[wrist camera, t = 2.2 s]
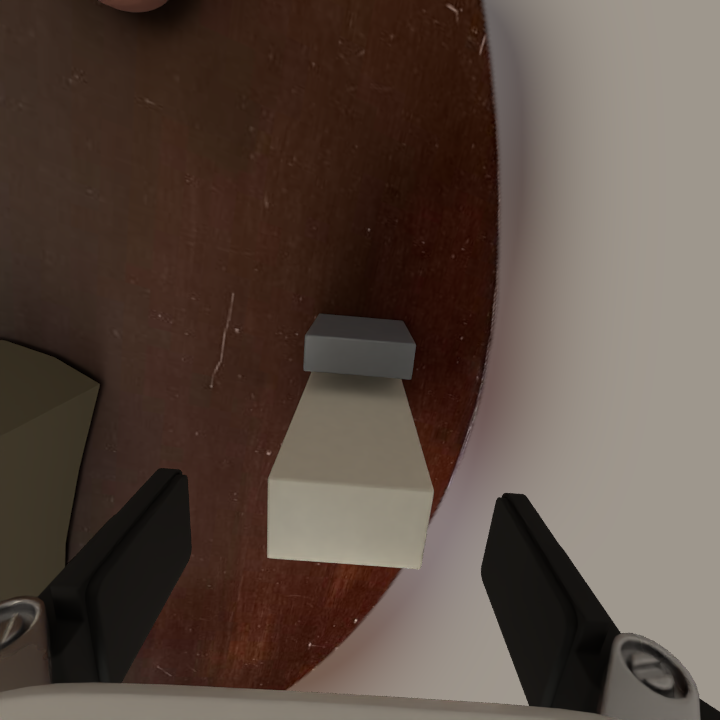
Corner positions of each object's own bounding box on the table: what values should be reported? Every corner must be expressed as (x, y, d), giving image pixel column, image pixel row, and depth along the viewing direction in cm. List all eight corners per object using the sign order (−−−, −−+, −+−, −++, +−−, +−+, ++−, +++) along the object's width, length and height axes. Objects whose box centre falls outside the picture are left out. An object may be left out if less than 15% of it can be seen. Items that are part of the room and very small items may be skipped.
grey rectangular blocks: (318, 313, 20) (304, 334, 15) (403, 320, 20) (416, 343, 15) (311, 444, 22) (298, 499, 17) (387, 450, 22) (394, 506, 17)
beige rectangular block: (316, 359, 20) (267, 477, 10) (398, 366, 21) (435, 491, 10) (313, 405, 21) (266, 558, 11) (392, 411, 21) (421, 570, 11)
